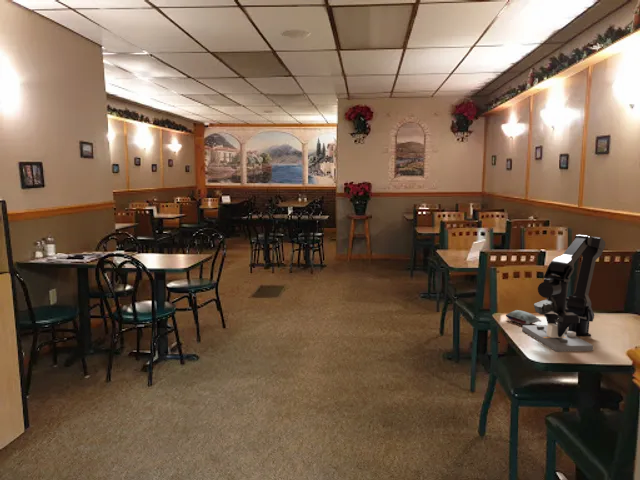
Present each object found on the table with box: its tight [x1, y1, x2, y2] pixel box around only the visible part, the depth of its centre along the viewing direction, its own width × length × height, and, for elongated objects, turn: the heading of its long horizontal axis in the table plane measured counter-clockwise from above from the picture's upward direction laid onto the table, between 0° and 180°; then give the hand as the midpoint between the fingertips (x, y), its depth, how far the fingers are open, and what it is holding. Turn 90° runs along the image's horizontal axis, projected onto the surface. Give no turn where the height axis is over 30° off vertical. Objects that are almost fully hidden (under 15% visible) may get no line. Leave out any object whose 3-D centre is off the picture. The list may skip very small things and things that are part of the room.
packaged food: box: [505, 309, 542, 325], centre depth 205 cm, size 9×12×5 cm
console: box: [521, 324, 594, 352], centre depth 183 cm, size 24×14×4 cm, turn 5°
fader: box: [547, 323, 564, 338], centre depth 180 cm, size 3×5×5 cm, turn 95°
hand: (555, 334), depth 180 cm, fingers open, 5 cm apart
